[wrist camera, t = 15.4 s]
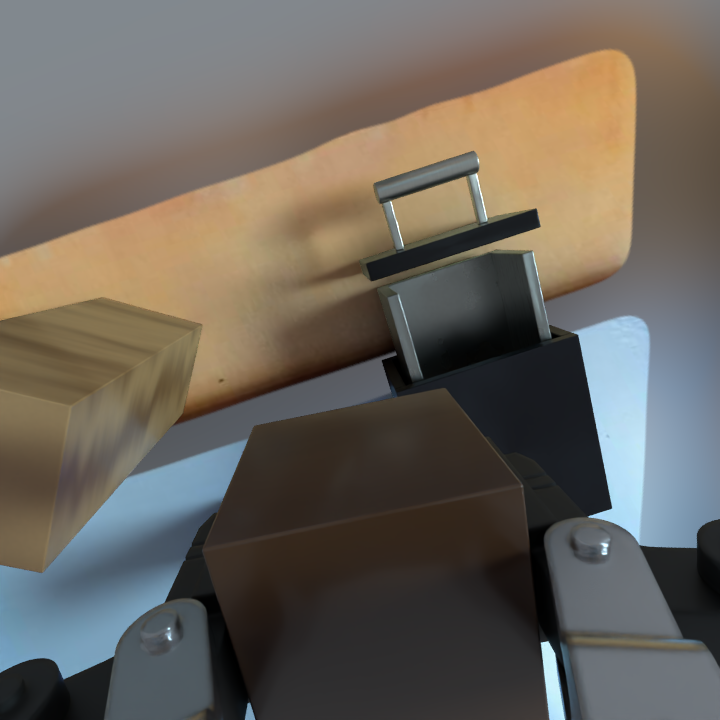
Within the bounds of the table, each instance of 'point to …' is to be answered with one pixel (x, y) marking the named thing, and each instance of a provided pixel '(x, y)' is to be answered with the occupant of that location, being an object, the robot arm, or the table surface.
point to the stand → (81, 414)
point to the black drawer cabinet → (531, 411)
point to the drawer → (457, 282)
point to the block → (379, 569)
